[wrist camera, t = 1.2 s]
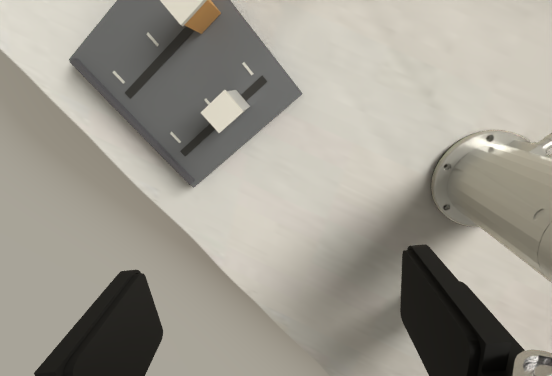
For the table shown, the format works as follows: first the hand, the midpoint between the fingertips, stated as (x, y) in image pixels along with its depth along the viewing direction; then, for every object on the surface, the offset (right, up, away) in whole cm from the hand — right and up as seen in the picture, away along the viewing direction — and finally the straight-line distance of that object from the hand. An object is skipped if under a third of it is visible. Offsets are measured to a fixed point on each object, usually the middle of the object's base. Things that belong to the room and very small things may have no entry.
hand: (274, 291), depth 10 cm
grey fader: (-5, +13, +23) cm, 27 cm away
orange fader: (-8, +22, +20) cm, 31 cm away
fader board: (-10, +17, +25) cm, 31 cm away
